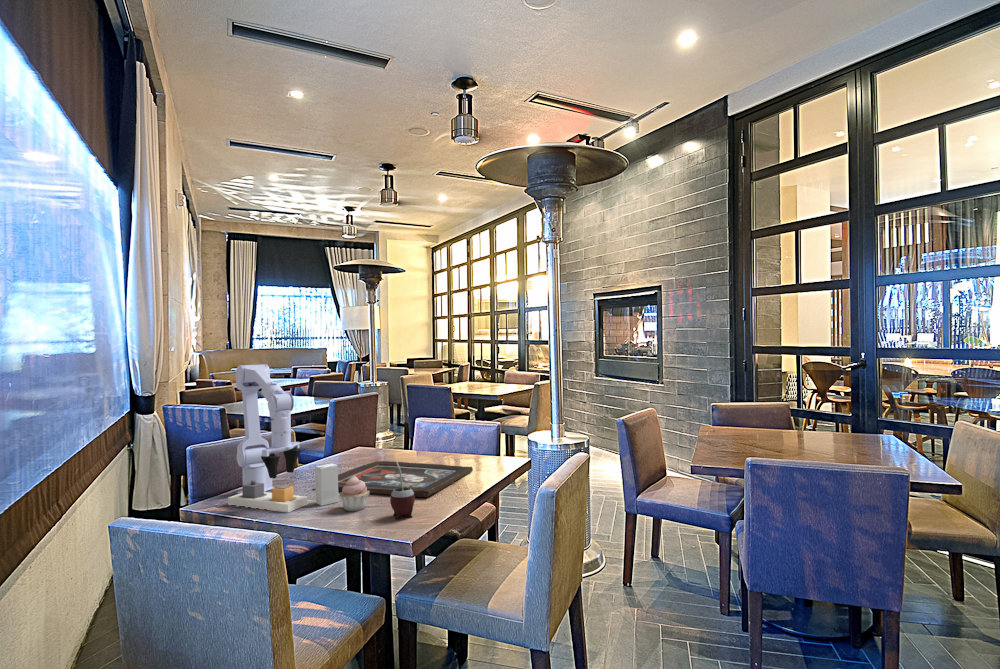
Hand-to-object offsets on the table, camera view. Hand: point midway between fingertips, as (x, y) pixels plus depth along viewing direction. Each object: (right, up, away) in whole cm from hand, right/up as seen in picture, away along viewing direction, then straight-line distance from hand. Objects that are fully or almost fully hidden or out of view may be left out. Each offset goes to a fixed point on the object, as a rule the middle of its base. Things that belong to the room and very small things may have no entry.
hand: (281, 475), depth 180 cm
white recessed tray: (-5, -10, +2) cm, 11 cm away
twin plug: (-11, -10, +4) cm, 15 cm away
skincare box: (+13, -10, +3) cm, 17 cm away
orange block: (0, -10, 0) cm, 10 cm away
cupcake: (+24, -10, -3) cm, 26 cm away
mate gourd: (+40, -10, -12) cm, 43 cm away
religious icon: (+32, -10, +31) cm, 46 cm away
